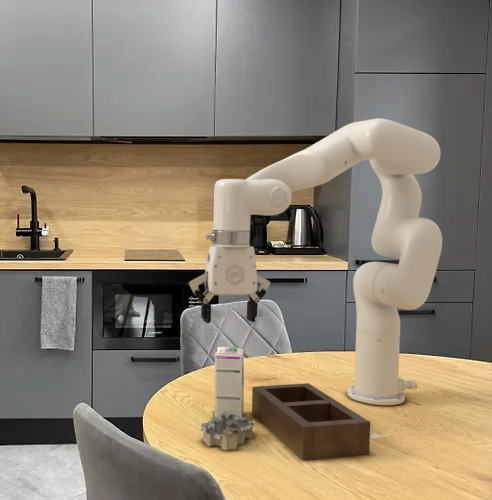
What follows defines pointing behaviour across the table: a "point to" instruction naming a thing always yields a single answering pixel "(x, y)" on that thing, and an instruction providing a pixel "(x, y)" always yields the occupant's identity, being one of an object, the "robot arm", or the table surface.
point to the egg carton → (227, 430)
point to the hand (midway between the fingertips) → (229, 321)
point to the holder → (311, 421)
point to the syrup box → (229, 380)
